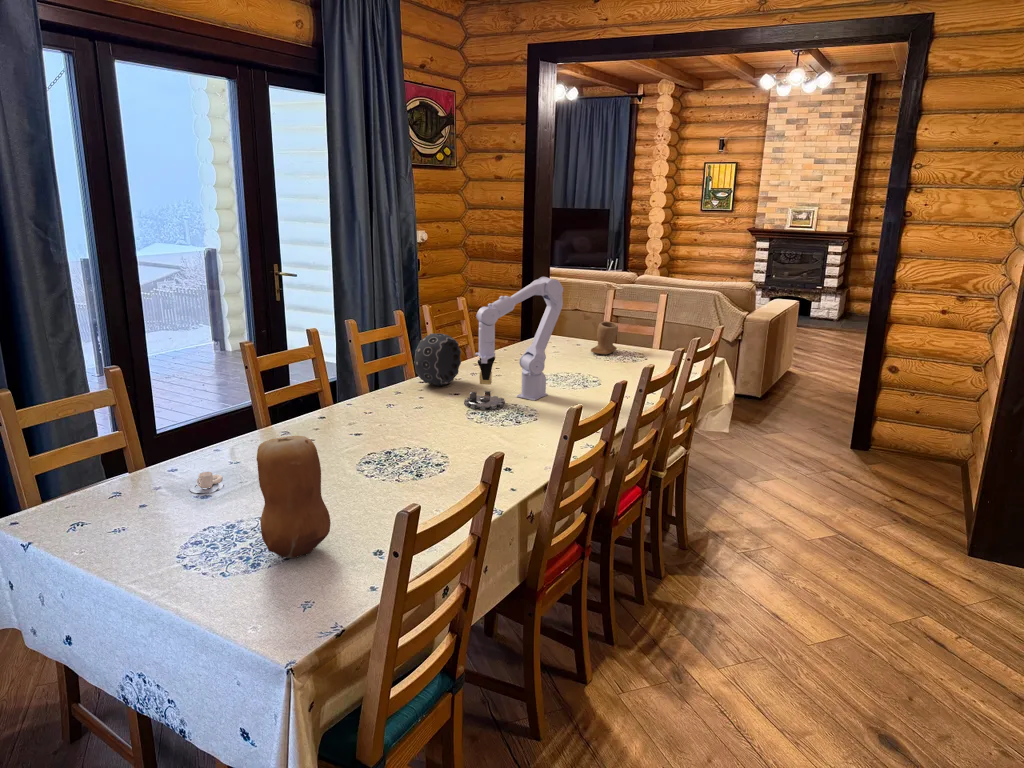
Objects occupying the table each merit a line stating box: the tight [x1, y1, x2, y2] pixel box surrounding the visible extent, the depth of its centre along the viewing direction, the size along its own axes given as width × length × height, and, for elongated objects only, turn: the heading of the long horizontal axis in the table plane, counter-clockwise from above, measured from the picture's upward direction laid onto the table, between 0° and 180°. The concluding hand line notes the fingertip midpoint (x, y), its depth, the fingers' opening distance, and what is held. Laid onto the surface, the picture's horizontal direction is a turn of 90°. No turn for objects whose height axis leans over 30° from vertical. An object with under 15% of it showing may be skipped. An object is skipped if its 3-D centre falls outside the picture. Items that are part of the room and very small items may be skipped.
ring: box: [413, 333, 462, 386], centre depth 267 cm, size 11×20×20 cm, turn 153°
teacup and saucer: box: [196, 471, 223, 489], centre depth 172 cm, size 9×8×4 cm
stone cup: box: [590, 320, 619, 355], centre depth 328 cm, size 15×12×15 cm
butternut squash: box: [256, 435, 331, 559], centre depth 138 cm, size 14×13×25 cm
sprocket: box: [463, 390, 506, 411], centre depth 244 cm, size 14×14×5 cm
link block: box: [479, 371, 493, 385], centre depth 247 cm, size 4×3×4 cm
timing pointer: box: [484, 390, 492, 396], centre depth 253 cm, size 1×2×2 cm, turn 85°
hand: (486, 378), depth 247 cm, fingers closed on link block, 3 cm apart
